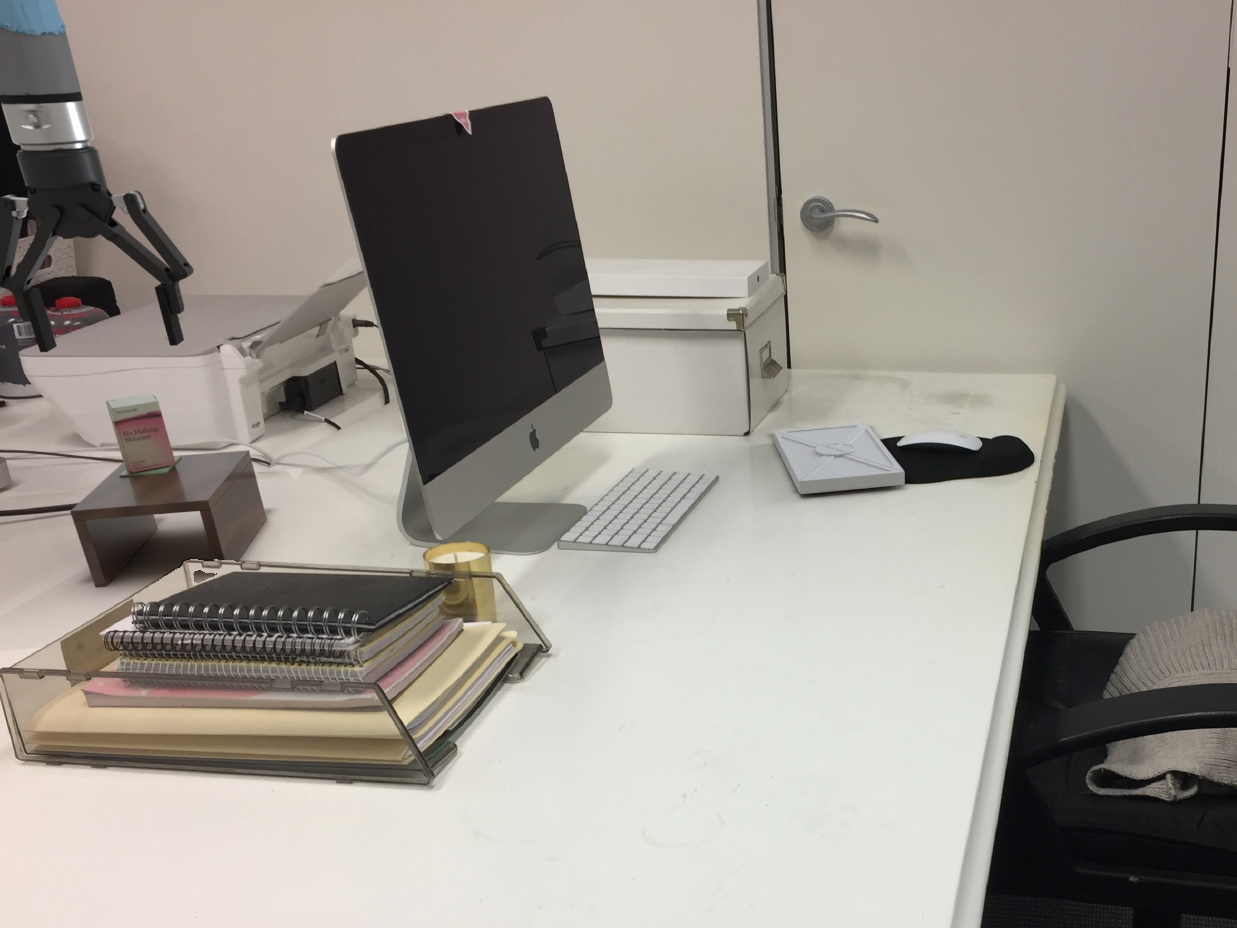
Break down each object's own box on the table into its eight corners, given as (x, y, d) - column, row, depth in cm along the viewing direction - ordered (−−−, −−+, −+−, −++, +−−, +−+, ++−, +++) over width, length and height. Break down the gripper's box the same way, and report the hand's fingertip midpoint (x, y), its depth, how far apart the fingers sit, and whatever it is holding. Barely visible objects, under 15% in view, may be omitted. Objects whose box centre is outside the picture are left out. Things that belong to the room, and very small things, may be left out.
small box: (129, 474, 143) (109, 407, 139) (124, 465, 146) (104, 399, 142) (177, 465, 146) (158, 399, 142) (171, 456, 149) (152, 392, 145)
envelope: (867, 436, 181) (774, 444, 178) (866, 421, 180) (773, 429, 177) (904, 486, 159) (799, 496, 157) (904, 469, 158) (798, 479, 156)
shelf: (95, 587, 137) (69, 509, 133) (147, 529, 153) (125, 457, 149) (228, 575, 139) (207, 498, 135) (266, 519, 155) (248, 448, 151)
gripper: (-92, 153, 126) (-22, 360, 135) (170, 145, 130) (220, 347, 139) (-57, 146, 132) (8, 344, 142) (191, 139, 136) (238, 332, 146)
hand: (113, 346), depth 141 cm, fingers open, 13 cm apart
